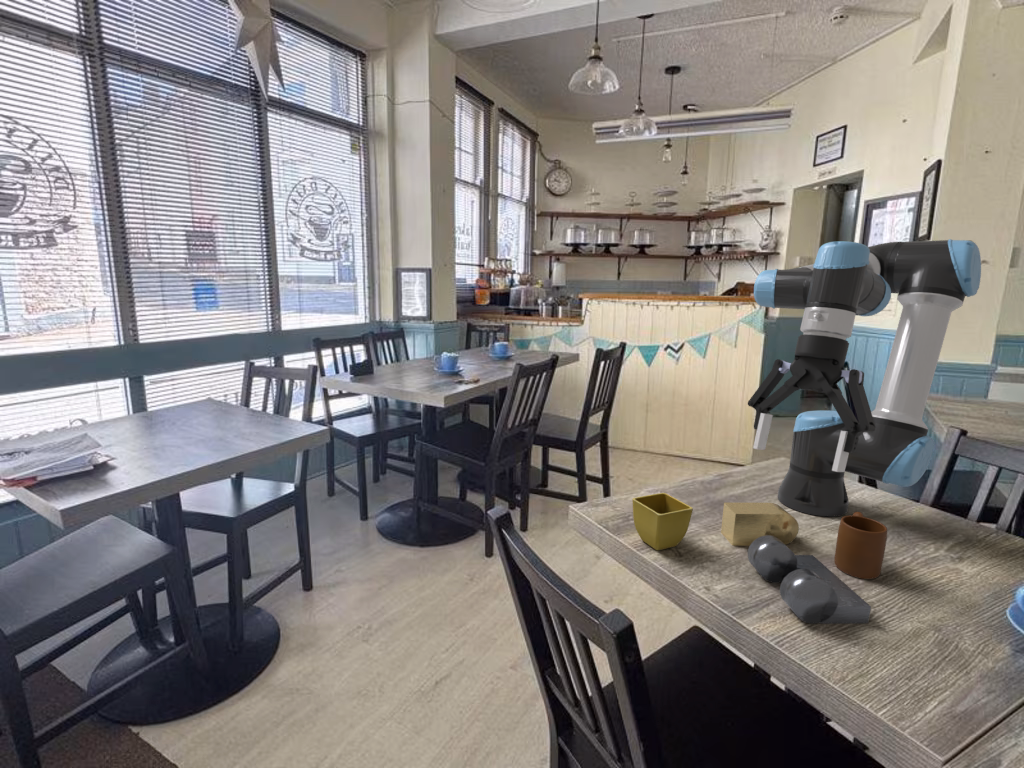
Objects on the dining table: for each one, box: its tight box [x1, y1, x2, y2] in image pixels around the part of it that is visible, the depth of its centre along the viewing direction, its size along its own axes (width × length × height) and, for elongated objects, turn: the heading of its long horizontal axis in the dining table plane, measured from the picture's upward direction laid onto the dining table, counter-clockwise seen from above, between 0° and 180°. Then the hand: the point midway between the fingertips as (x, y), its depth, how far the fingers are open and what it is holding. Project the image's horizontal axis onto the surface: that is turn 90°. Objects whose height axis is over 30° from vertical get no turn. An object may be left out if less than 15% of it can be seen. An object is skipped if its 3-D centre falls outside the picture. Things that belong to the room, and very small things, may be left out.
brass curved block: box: [720, 502, 800, 547], centre depth 112 cm, size 14×6×7 cm, turn 92°
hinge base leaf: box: [747, 535, 872, 625], centre depth 93 cm, size 12×16×7 cm
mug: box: [833, 511, 888, 580], centre depth 103 cm, size 12×8×9 cm, turn 154°
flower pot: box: [631, 492, 694, 551], centre depth 109 cm, size 9×9×9 cm
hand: (796, 459), depth 91 cm, fingers open, 13 cm apart
